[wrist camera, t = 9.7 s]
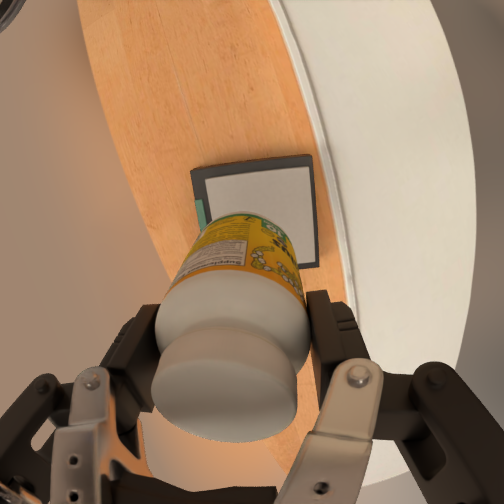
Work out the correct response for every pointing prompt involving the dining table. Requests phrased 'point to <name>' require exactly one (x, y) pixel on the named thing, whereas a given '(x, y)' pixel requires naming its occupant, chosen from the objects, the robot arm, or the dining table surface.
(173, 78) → the dining table surface
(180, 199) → the dining table surface
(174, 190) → the dining table surface
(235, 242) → the supplement bottle
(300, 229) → the scale
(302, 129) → the dining table surface
